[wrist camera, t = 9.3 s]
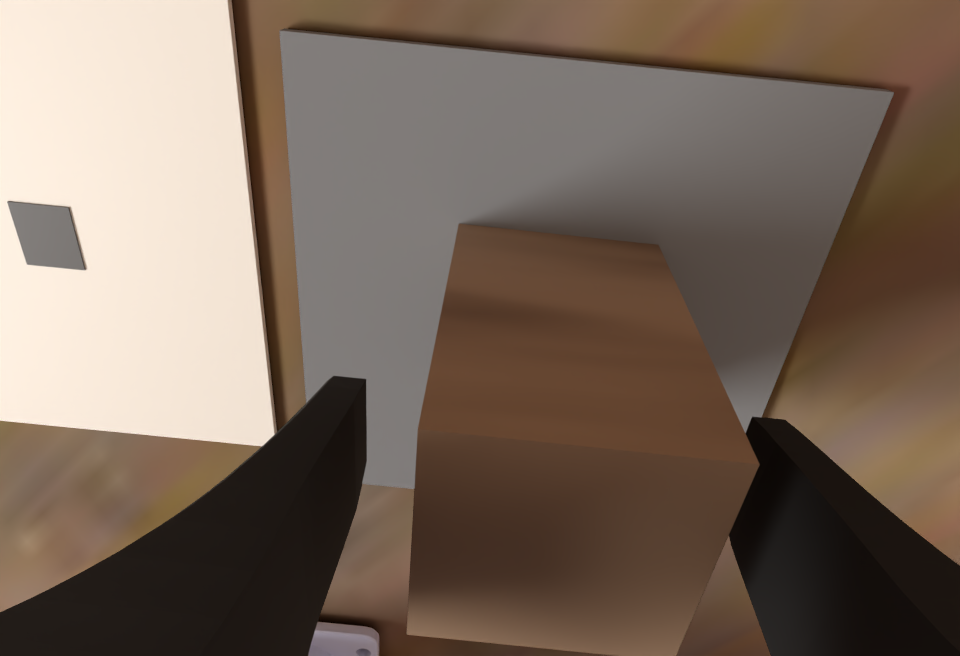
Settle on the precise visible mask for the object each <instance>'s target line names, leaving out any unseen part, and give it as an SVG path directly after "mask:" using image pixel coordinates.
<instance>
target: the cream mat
mask: <svg viewBox="0 0 960 656" xmlns="http://www.w3.org/2000/svg"><path fill="white" fill-rule="evenodd" d="M0 421H10V422H21V423H31V424H41V425H51V426H61V427H72V428H82V429H92V430H102V431H112V432H123V433H133V434H143V435H153V436H163V437H174V438H184V439H194V440H204V441H214V442H225V443H235V444H245V445H255V446H263V445H264V444H265V443H266V442H267V441H268V440H269V439H270V438H271V437H273V436H274V435H275V434H276V433H277V428H276V418H275V409H274V399H273V390H272V380H271V371H270V361H269V352H268V342H267V333H266V323H265V314H264V304H263V295H262V285H261V276H260V266H259V257H258V247H257V238H256V228H255V219H254V209H253V200H252V190H251V181H250V171H249V162H248V152H247V143H246V133H245V124H244V114H243V105H242V95H241V86H240V76H239V67H238V57H237V48H236V38H235V29H234V19H233V10H232V0H0Z"/></svg>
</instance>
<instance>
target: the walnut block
mask: <svg viewBox="0 0 960 656" xmlns="http://www.w3.org/2000/svg"><path fill="white" fill-rule="evenodd" d="M759 465H760V464H759V462H758V460H757V458H756V456H755V453H754V451H753V449H752V447H751V445H750V443H749V440H748V438H747V436H746V434H745V432H744V429H743V427H742V425H741V423H740V421H739V419H738V416H737V414H736V412H735V410H734V408H733V406H732V403H731V401H730V399H729V397H728V395H727V393H726V390H725V388H724V386H723V384H722V382H721V379H720V377H719V375H718V373H717V371H716V369H715V366H714V364H713V362H712V360H711V358H710V356H709V353H708V351H707V349H706V347H705V345H704V343H703V340H702V338H701V336H700V334H699V332H698V330H697V327H696V325H695V323H694V321H693V319H692V316H691V314H690V312H689V310H688V308H687V306H686V303H685V301H684V299H683V297H682V295H681V293H680V290H679V288H678V286H677V284H676V282H675V280H674V277H673V275H672V273H671V271H670V269H669V266H668V264H667V262H666V260H665V258H664V256H663V253H662V251H661V249H660V247H659V245H656V244H647V243H637V242H628V241H618V240H609V239H599V238H590V237H580V236H571V235H561V234H552V233H543V232H533V231H524V230H514V229H505V228H495V227H486V226H476V225H467V224H459V225H458V230H457V235H456V240H455V245H454V250H453V255H452V260H451V265H450V270H449V275H448V280H447V285H446V290H445V295H444V300H443V305H442V310H441V315H440V320H439V325H438V330H437V335H436V340H435V345H434V350H433V355H432V360H431V365H430V370H429V375H428V380H427V385H426V390H425V395H424V400H423V405H422V410H421V415H420V420H419V425H418V433H417V452H416V470H415V488H414V507H413V525H412V544H411V562H410V580H409V599H408V617H407V635H415V636H425V637H435V638H445V639H455V640H465V641H475V642H485V643H495V644H505V645H515V646H524V647H534V648H544V649H554V650H564V651H574V652H584V653H594V654H604V655H614V656H676V655H677V652H678V650H679V648H680V645H681V643H682V641H683V639H684V636H685V634H686V632H687V629H688V627H689V625H690V623H691V620H692V618H693V616H694V613H695V611H696V609H697V607H698V604H699V602H700V600H701V597H702V595H703V593H704V591H705V588H706V586H707V584H708V581H709V579H710V577H711V575H712V572H713V570H714V568H715V565H716V563H717V561H718V558H719V556H720V554H721V552H722V549H723V547H724V545H725V542H726V540H727V538H728V536H729V533H730V531H731V529H732V526H733V524H734V522H735V520H736V517H737V515H738V513H739V510H740V508H741V506H742V504H743V501H744V499H745V497H746V494H747V492H748V490H749V488H750V485H751V483H752V481H753V478H754V476H755V474H756V472H757V469H758V467H759Z"/></svg>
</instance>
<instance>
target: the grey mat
mask: <svg viewBox="0 0 960 656" xmlns="http://www.w3.org/2000/svg"><path fill="white" fill-rule="evenodd" d="M280 44H281V58H282V71H283V85H284V99H285V113H286V127H287V141H288V155H289V169H290V183H291V197H292V211H293V225H294V239H295V253H296V267H297V281H298V295H299V309H300V323H301V337H302V351H303V365H304V379H305V393H306V403H307V402H308V401H309V400H310V399H311V398H312V397H313V395H314V394H315V393H316V392H317V391H318V390H319V389H320V388H321V387H322V386H323V385H324V384H325V383H326V381H327V380H329V379H330V378H331V377H333V376H342V377H352V378H362V379H366V416H367V463H366V468H365V472H364V477H363V482H362V484H369V485H379V486H390V487H400V488H410V489H414V488H415V470H416V452H417V433H418V425H419V420H420V415H421V410H422V405H423V400H424V395H425V390H426V385H427V380H428V375H429V370H430V365H431V360H432V355H433V350H434V345H435V340H436V335H437V330H438V325H439V320H440V315H441V310H442V305H443V300H444V295H445V290H446V285H447V280H448V275H449V270H450V265H451V260H452V255H453V250H454V245H455V240H456V235H457V230H458V225H459V224H467V225H476V226H486V227H495V228H505V229H514V230H524V231H533V232H543V233H552V234H561V235H571V236H580V237H590V238H599V239H609V240H618V241H628V242H637V243H647V244H656V245H659V247H660V249H661V251H662V253H663V256H664V258H665V260H666V262H667V264H668V266H669V269H670V271H671V273H672V275H673V277H674V280H675V282H676V284H677V286H678V288H679V290H680V293H681V295H682V297H683V299H684V301H685V303H686V306H687V308H688V310H689V312H690V314H691V316H692V319H693V321H694V323H695V325H696V327H697V330H698V332H699V334H700V336H701V338H702V340H703V343H704V345H705V347H706V349H707V351H708V353H709V356H710V358H711V360H712V362H713V364H714V366H715V369H716V371H717V373H718V375H719V377H720V379H721V382H722V384H723V386H724V388H725V390H726V393H727V395H728V397H729V399H730V401H731V403H732V406H733V408H734V410H735V412H736V414H737V416H738V419H739V421H740V423H741V425H742V427H743V429H744V432H745V433H746V431H747V428H748V426H749V423H750V421H751V418H752V417H762V415H763V412H764V410H765V408H766V405H767V403H768V400H769V398H770V395H771V393H772V390H773V388H774V386H775V383H776V381H777V378H778V376H779V373H780V371H781V368H782V366H783V364H784V361H785V359H786V356H787V354H788V351H789V349H790V346H791V344H792V341H793V339H794V337H795V334H796V332H797V329H798V327H799V324H800V322H801V319H802V317H803V315H804V312H805V310H806V307H807V305H808V302H809V300H810V297H811V295H812V293H813V290H814V288H815V285H816V283H817V280H818V278H819V275H820V273H821V271H822V268H823V266H824V263H825V261H826V258H827V256H828V253H829V251H830V248H831V246H832V244H833V241H834V239H835V236H836V234H837V231H838V229H839V226H840V224H841V222H842V219H843V217H844V214H845V212H846V209H847V207H848V204H849V202H850V200H851V197H852V195H853V192H854V190H855V187H856V185H857V182H858V180H859V178H860V175H861V173H862V170H863V168H864V165H865V163H866V160H867V158H868V155H869V153H870V151H871V148H872V146H873V143H874V141H875V138H876V136H877V133H878V131H879V129H880V126H881V124H882V121H883V119H884V116H885V114H886V111H887V109H888V107H889V104H890V102H891V99H892V97H893V94H894V92H892V91H890V90H887V89H879V88H869V87H859V86H849V85H839V84H829V83H819V82H809V81H799V80H789V79H779V78H769V77H759V76H749V75H740V74H730V73H720V72H710V71H700V70H690V69H680V68H670V67H660V66H650V65H640V64H630V63H620V62H610V61H600V60H591V59H581V58H571V57H561V56H551V55H541V54H531V53H521V52H511V51H501V50H491V49H481V48H471V47H461V46H451V45H442V44H432V43H422V42H412V41H402V40H392V39H382V38H372V37H362V36H352V35H342V34H332V33H322V32H312V31H303V30H293V29H282V30H280Z"/></svg>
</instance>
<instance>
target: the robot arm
mask: <svg viewBox="0 0 960 656" xmlns="http://www.w3.org/2000/svg"><path fill="white" fill-rule="evenodd" d="M745 434H746V436H747V438H748V440H749V443H750V445H751V447H752V449H753V451H754V453H755V456H756V458H757V460H758V462H759V464H760V465H759V467H758V469H757V472H756V474H755V476H754V478H753V481H752V483H751V485H750V488H749V490H748V492H747V494H746V497H745V499H744V501H743V504H742V506H741V508H740V510H739V513H738V515H737V517H736V520H735V522H734V524H733V526H732V529H731V531H730V533H729V537H730V541H731V546H732V549H733V552H734V555H735V558H736V560H737V563H738V566H739V569H740V572H741V575H742V577H743V580H744V583H745V586H746V589H747V591H748V594H749V597H750V599H751V602H752V605H753V608H754V610H755V613H756V616H757V619H758V621H759V624H760V627H761V629H762V632H763V635H764V638H765V640H766V643H767V646H768V649H769V651H770V654H771V656H960V566H959V565H958V564H957V563H955V562H954V561H953V560H951V559H950V558H949V557H947V556H946V555H945V554H943V553H942V552H941V551H939V550H938V549H937V548H935V547H934V546H933V545H932V544H930V543H929V542H928V541H927V540H925V539H924V538H923V537H922V536H920V535H919V534H918V533H917V532H915V531H914V530H913V529H912V528H910V527H909V526H908V525H907V524H905V523H904V522H903V521H902V520H900V519H899V518H898V517H897V516H896V515H894V514H893V513H892V512H891V511H890V510H888V509H887V508H886V507H885V506H884V505H883V504H881V503H880V502H879V501H878V500H877V499H875V498H874V497H873V496H872V495H871V494H870V493H869V492H867V491H866V490H865V489H864V488H863V487H862V486H861V485H859V484H858V483H857V482H856V481H855V480H854V479H853V478H851V477H850V476H849V475H848V474H847V473H846V472H845V471H844V470H842V469H841V468H840V467H839V466H838V465H837V464H836V463H835V462H833V461H832V460H831V459H830V458H829V457H828V456H827V455H826V454H825V453H823V452H822V451H821V450H820V449H819V448H818V447H817V446H815V445H814V444H813V443H812V442H811V441H810V440H809V439H808V438H806V437H805V436H804V435H803V434H802V433H801V432H799V431H798V430H797V429H796V428H795V427H793V426H792V425H791V424H790V423H788V422H787V421H786V420H782V419H772V418H761V417H752V418H751V421H750V423H749V426H748V428H747V431H746V433H745ZM366 463H367V416H366V379H362V378H352V377H342V376H333V377H331V378H330V379H329V380H327V381H326V383H325V384H324V385H323V386H322V387H321V388H320V389H319V390H318V391H317V392H316V393H315V394H314V395H313V397H312V398H311V399H310V400H309V401H308V402H307V403H306V404H305V405H304V406H303V407H302V408H301V409H300V410H299V411H298V412H297V413H296V414H295V415H294V416H293V417H292V418H291V419H290V420H289V421H288V422H287V423H286V424H285V425H284V426H283V427H282V428H281V429H280V430H279V431H278V432H277V433H276V434H275V435H274V436H273V437H271V438H270V439H269V440H268V441H267V442H266V443H265V444H264V445H263V446H262V447H261V448H260V449H259V450H258V451H256V452H255V453H254V454H253V455H252V456H251V457H249V458H248V459H247V460H246V461H245V462H244V463H242V464H241V465H240V466H239V467H238V468H237V469H235V470H234V471H233V472H232V473H231V474H230V475H228V476H227V477H226V478H225V479H224V480H222V481H221V482H220V483H219V484H217V485H216V486H215V487H213V488H212V489H211V490H210V491H208V492H207V493H206V494H204V495H203V496H202V497H200V498H199V499H198V500H196V501H195V502H194V503H192V504H191V505H189V506H188V507H187V508H185V509H184V510H182V511H181V512H180V513H178V514H177V515H175V516H174V517H172V518H171V519H169V520H168V521H166V522H165V523H163V524H162V525H160V526H159V527H157V528H156V529H154V530H152V531H151V532H149V533H148V534H146V535H144V536H143V537H141V538H140V539H138V540H136V541H135V542H133V543H132V544H130V545H128V546H127V547H125V548H124V549H122V550H120V551H119V552H117V553H115V554H114V555H112V556H110V557H108V558H107V559H105V560H103V561H101V562H99V563H98V564H96V565H94V566H92V567H90V568H89V569H87V570H85V571H83V572H81V573H79V574H77V575H76V576H74V577H72V578H70V579H68V580H66V581H64V582H62V583H60V584H58V585H56V586H55V587H53V588H51V589H49V590H47V591H45V592H43V593H41V594H39V595H37V596H35V597H33V598H31V599H28V600H26V601H24V602H22V603H20V604H18V605H15V606H13V607H11V608H9V609H7V610H4V611H2V612H0V656H379V634H378V633H377V632H376V631H375V630H374V629H373V628H371V627H366V626H357V625H347V624H336V623H326V622H318V619H319V616H320V613H321V610H322V607H323V605H324V602H325V599H326V596H327V593H328V590H329V587H330V584H331V582H332V579H333V576H334V573H335V570H336V567H337V564H338V562H339V559H340V556H341V553H342V550H343V547H344V544H345V541H346V538H347V536H348V533H349V530H350V527H351V524H352V521H353V518H354V515H355V512H356V509H357V504H358V500H359V495H360V491H361V487H362V482H363V477H364V472H365V468H366Z"/></svg>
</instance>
